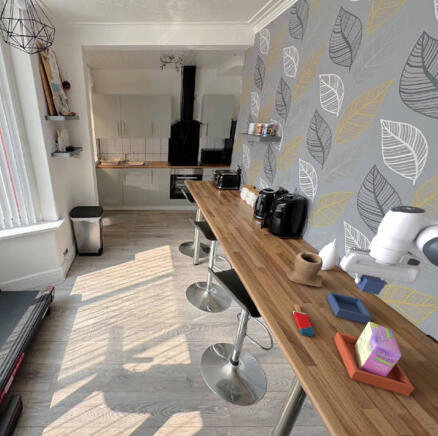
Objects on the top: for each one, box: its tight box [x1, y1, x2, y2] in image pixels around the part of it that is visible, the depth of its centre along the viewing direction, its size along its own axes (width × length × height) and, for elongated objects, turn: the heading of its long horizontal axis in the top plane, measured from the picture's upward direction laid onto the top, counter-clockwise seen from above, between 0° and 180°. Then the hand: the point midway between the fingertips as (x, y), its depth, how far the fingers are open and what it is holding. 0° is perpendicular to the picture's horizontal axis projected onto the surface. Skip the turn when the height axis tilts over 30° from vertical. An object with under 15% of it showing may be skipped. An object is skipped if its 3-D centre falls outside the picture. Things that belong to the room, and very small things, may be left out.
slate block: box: [355, 275, 385, 296], centre depth 84 cm, size 5×5×5 cm
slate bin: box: [326, 291, 373, 325], centre depth 95 cm, size 11×11×4 cm
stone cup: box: [286, 251, 324, 288], centre depth 109 cm, size 15×12×15 cm
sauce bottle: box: [318, 238, 339, 271], centre depth 118 cm, size 8×8×18 cm
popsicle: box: [292, 303, 315, 338], centre depth 90 cm, size 5×2×15 cm
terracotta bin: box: [333, 331, 415, 397], centre depth 74 cm, size 14×15×4 cm
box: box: [354, 321, 403, 377], centre depth 72 cm, size 10×6×12 cm, turn 147°
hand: (368, 285), depth 84 cm, fingers closed on slate block, 5 cm apart
